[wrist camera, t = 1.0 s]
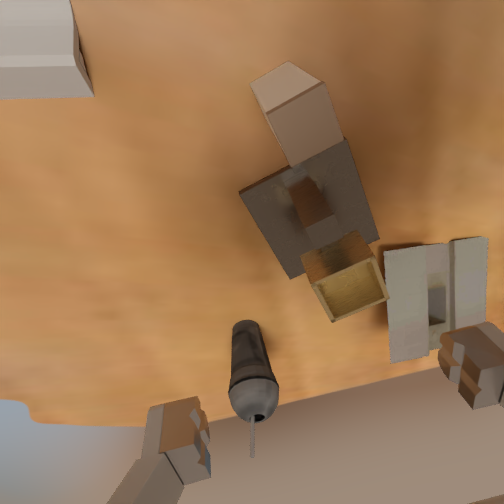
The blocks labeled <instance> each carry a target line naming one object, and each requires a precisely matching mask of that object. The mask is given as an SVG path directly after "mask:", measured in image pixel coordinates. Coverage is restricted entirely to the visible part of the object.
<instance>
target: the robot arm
mask: <svg viewBox="0 0 504 504" xmlns="http://www.w3.org/2000/svg"><path fill="white" fill-rule="evenodd" d="M439 342H440V343H441V344H442V345H443V346H442V348H441V349H440V350H439V351H438V361H439V364H440V367H441V369H442V371H443V373H444V374H445V375H446V377H447V378H448V379H449V380H450V381H452V382H454V383H456V384H458V392H459V393H460V394H461V396H462V397H463V398H464V399H465V401H466V402H467V403H468V404H469V406H470V407H471V408H472V409H473V410H474V409H478V408H482V407H486V406H491V405H496V404H500V406H502V407H504V333H503V332H502V331H501V330H500V329H498V328H497V327H496V326H495V325H494V324H493V323H490V322H484V323H480V324H476V325H472V326H467V327H463V328H459V329H456V330H452V331H448V332H445V333H442V334H441V336H440V341H439ZM209 442H210V434H209V426H208V421H207V417H206V414H205V412H204V411H203V410H201V408H200V401H199V399H198V396H195V397H190V398H186V399H182V400H177V401H173V402H168V403H164V404H160V405H156V406H152V407H150V409H149V411H148V415H147V422H146V429H145V436H144V442H143V449H142V456H141V459H138V460H136V461H135V463H134V464H133V466H132V467H131V469H130V470H129V472H128V473H127V475H126V476H125V477H124V479H123V480H122V482H121V483H120V485H119V486H118V488H117V489H116V491H115V492H114V494H113V495H112V496H111V498H110V499H109V501H108V502H107V504H177V502H178V500H179V498H180V496H181V493H182V491H183V489H184V485H187V484H191V483H194V482H197V481H200V480H204V479H208V478H211V465H210V454H209V452H208V450H207V445H208V444H209ZM469 504H504V494H503V495H499V496H495V497H492V498H488V499H484V500H480V501H476V502H473V503H469Z"/></svg>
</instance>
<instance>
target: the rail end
mask: <svg viewBox="0 0 504 504" xmlns="http://www.w3.org/2000/svg"><path fill="white" fill-rule="evenodd" d="M250 86H251V89H252V91H253V93H254V95H255V97H256V99H257V101H258V103H259V106H260V108H261V110H262V112H263V114H264V116H265V118H266V121H267V123H268V125H269V126H270V128H271V130H272V132H273V134H274V136H275V137H276V139H277V141H278V143H279V145H280V147H281V148H282V150H283V152H284V154H285V156H286V158H287V160H288V162H289V164H290V166H291V167H293V166H295V165H297V164H299V163H301V162H303V161H305V160H307V159H308V158H310V157H312V156H314V155H316V154H318V153H320V152H322V151H324V150H326V149H328V148H330V147H332V146H333V145H335V144H337V143H339V142H341V141H343V140H344V138H343V135H342V132H341V129H340V126H339V123H338V120H337V117H336V114H335V111H334V108H333V105H332V102H331V99H330V96H329V93H328V91H327V88H326V85H325V83H324V82H323V81H319V80H318V79H316V78H314V77H313V76H311V75H310V74H308V73H307V72H305V71H303V70H302V69H300V68H299V67H297V66H296V65H294V64H292V63H291V62H289V61H287V62H285V63H284V64H282V65H280V66H279V67H277V68H275V69H273V70H272V71H270V72H268V73H267V74H265V75H263V76H261V77H260V78H258V79H256V80H255V81H253V82H251V83H250Z"/></svg>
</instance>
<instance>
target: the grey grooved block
mask: <svg viewBox="0 0 504 504" xmlns="http://www.w3.org/2000/svg"><path fill="white" fill-rule="evenodd" d="M488 240H489V239H488V238H485V237H481V236H480V237H478V238H477V237H474V238H471V239H470V238H467V240H466V239H462V240H458V241H457V240H456V241H450V242H449V243H447V244H444V243H441V244H440V243H438V244H435V245H434V244H432V245H422V246H417V247H411V248H410V247H409V248H406V249H404V248H403V249H399V250H398V249H397V250H391V251H384V253H383V254H384V256H385V258H384V259H385V260H384V264H385V278H386V279H385V281H386V282H385V283H386V285H385V286H386V289H387V291H388V294H389V297H390V299H388V300H387V312H388V325H389V341H390V342H389V343H390V344H389V347H390V357H391V358H390V360H391V362H392V363H397V362H401V361H406V360H412V359H417V358H421V357H423V356H426V357H427V356H429V350H433V349H438V348H439V349H441V348H442V346H443V345H442V344H441V343H440V342H439V341H440V336H441V334H442V333H445V332H448V331H452V330H456V329H459V328H463V327H467V326H472V325H476V324H480V323H484V322H485V320H486V316H485V315H486V307H485V306H486V285H487V284H486V281H487V258H488V256H487V254H488V251H487V250H488V247H487V246H488ZM390 364H391V363H390Z"/></svg>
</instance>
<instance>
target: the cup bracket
mask: <svg viewBox="0 0 504 504" xmlns="http://www.w3.org/2000/svg"><path fill="white" fill-rule="evenodd" d="M343 138H344V140H343V141H341V142H339V143H337V144H335V145H333V146H332V147H330V148H328V149H326V150H324V151H322V152H320V153H318V154H316V155H314V156H312V157H310V158H308V159H307V160H305V161H303V162H301V163H299V164H297V165H295V166H293V167H291V166H290V165H288V166H286V167H285V168H283V169H281V170H279V171H277V172H275V173H273V174H271V175H269V176H267V177H265V178H264V179H262V180H260V181H258V182H256V183H254V184H252V185H250V186H248V187H246V188H244V189H242V190H241V191H239V195H240V197H241V198H242V200H243V202H244V203H245V205H246V207H247V208H248V210H249V212H250V213H251V215H252V217H253V218H254V220H255V222H256V223H257V225H258V227H259V228H260V230H261V232H262V233H263V235H264V237H265V238H266V240H267V242H268V243H269V245H270V247H271V248H272V250H273V252H274V254H275V255H276V257H277V259H278V260H279V262H280V264H281V265H282V267H283V269H284V270H285V272H286V274H287V275H288V277H289V279H292V278H295V277H297V276H299V275H301V274H303V273H306V274H307V277H308V279H309V282H310V284H311V286H312V288H313V290H314V292H315V293H316V295H317V297H318V299H319V301H320V302H321V304H322V306H323V308H324V310H325V311H326V313H327V315H328V317H329V319H330V321H331V322H332V323H333V322H336V321H338V320H340V319H343V318H345V317H348V316H350V315H352V314H355V313H357V312H360V311H362V310H364V309H367V308H369V307H371V306H374V305H376V304H379V303H381V302H383V301H386V300H388V299H390V297H389V294H388V291H387V289H386V286H385V283H384V280H383V277H382V275H381V272H380V269H379V266H378V264H377V261H376V258H375V255H374V254H373V252H372V251H371V250H370V248H369V247H368V245H367V244H369V243H372V242H374V241H376V240H378V239H380V238H379V235H378V232H377V229H376V226H375V223H374V220H373V217H372V214H371V211H370V208H369V205H368V202H367V199H366V196H365V193H364V190H363V187H362V184H361V181H360V178H359V175H358V172H357V169H356V166H355V163H354V160H353V157H352V154H351V151H350V148H349V145H348V142H347V139H346V138H345V137H343Z"/></svg>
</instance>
